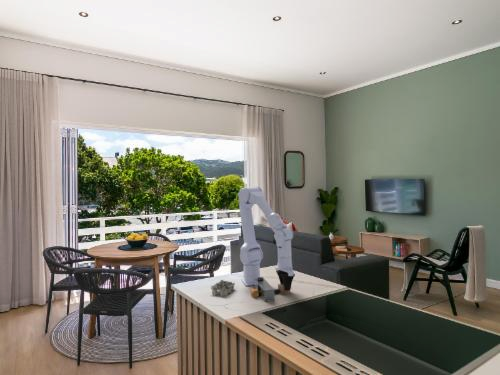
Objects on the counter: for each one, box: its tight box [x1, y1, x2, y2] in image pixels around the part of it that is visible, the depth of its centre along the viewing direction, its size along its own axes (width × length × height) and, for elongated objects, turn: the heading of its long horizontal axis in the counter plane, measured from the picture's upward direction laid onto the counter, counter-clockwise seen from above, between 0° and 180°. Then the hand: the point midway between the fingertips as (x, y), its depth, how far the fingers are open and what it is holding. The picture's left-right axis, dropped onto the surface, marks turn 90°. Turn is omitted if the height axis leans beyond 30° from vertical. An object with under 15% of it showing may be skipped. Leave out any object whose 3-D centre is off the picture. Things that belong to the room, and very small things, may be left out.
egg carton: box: [210, 279, 236, 297], centre depth 148 cm, size 11×8×4 cm
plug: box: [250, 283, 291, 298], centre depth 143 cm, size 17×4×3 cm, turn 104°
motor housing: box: [254, 276, 275, 302], centre depth 142 cm, size 16×4×5 cm, turn 13°
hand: (285, 288), depth 144 cm, fingers closed on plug, 4 cm apart
